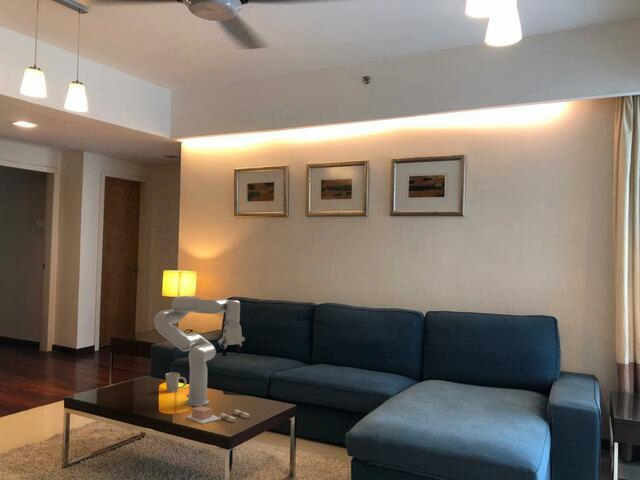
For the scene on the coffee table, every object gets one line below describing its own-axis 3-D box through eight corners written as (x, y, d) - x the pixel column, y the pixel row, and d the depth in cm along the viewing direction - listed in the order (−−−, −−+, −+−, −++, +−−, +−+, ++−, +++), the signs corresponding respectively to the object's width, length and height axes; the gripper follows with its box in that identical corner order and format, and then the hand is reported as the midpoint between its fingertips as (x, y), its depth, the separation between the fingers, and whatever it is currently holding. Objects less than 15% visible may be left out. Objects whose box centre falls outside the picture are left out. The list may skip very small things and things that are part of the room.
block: (191, 416, 257) (192, 408, 257) (200, 413, 262) (200, 405, 262) (203, 419, 253) (203, 411, 253) (212, 416, 258) (212, 408, 258)
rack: (219, 417, 259) (219, 413, 259) (235, 413, 267) (236, 409, 267) (233, 422, 252) (233, 418, 252) (249, 418, 260) (249, 414, 260)
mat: (186, 417, 258) (186, 416, 258) (204, 413, 266) (204, 411, 266) (202, 424, 248) (202, 422, 248) (221, 419, 256) (221, 418, 256)
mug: (166, 389, 311) (166, 372, 312) (187, 389, 313) (188, 372, 313) (163, 392, 303) (164, 375, 303) (185, 392, 304) (186, 375, 305)
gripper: (223, 324, 269) (222, 357, 269) (249, 322, 282) (248, 353, 281) (215, 323, 274) (214, 355, 274) (240, 321, 287) (239, 351, 286)
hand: (231, 354), depth 278 cm, fingers open, 9 cm apart
